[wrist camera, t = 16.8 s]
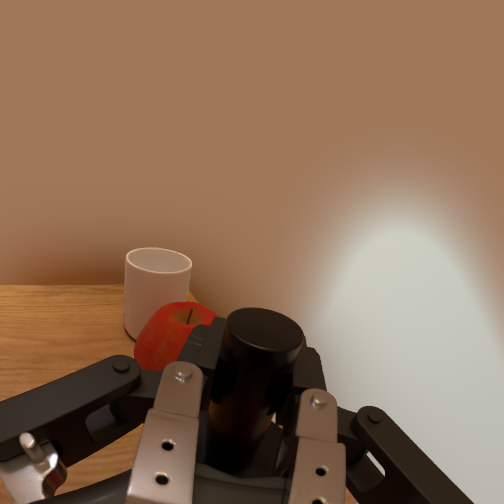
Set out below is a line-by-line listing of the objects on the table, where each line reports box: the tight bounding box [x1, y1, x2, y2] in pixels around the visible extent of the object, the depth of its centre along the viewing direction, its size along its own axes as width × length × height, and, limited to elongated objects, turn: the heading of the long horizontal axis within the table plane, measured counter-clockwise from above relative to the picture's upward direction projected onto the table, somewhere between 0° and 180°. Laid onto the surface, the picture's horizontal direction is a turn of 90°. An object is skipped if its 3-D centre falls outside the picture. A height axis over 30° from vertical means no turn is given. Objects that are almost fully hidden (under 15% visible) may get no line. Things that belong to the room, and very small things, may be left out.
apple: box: [134, 302, 219, 371], centre depth 27 cm, size 10×10×10 cm
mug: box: [124, 248, 192, 340], centre depth 37 cm, size 9×12×11 cm
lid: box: [195, 308, 304, 479], centre depth 10 cm, size 7×7×9 cm
